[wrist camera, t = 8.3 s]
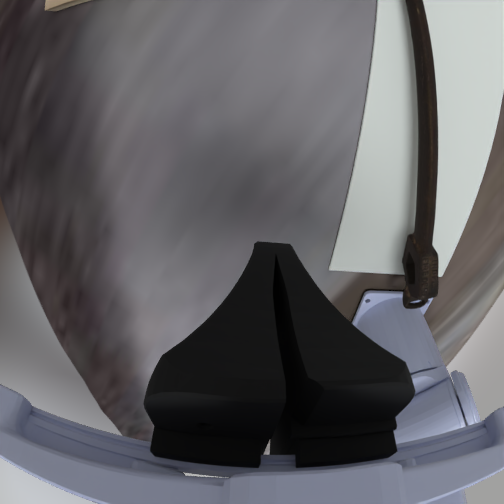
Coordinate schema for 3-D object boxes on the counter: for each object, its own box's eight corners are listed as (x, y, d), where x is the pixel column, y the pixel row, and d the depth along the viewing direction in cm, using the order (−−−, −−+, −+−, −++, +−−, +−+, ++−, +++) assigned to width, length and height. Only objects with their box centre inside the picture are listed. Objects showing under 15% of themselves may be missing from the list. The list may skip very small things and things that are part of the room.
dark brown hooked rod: (436, -44, 10) (437, 285, 25) (376, -56, 11) (391, 291, 26) (467, -62, 5) (458, 322, 21) (398, -84, 6) (407, 331, 21)
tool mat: (441, 275, 25) (441, 276, 25) (328, 268, 25) (328, 270, 25) (507, -5, 9) (508, -5, 9) (379, -71, 9) (380, -72, 8)
